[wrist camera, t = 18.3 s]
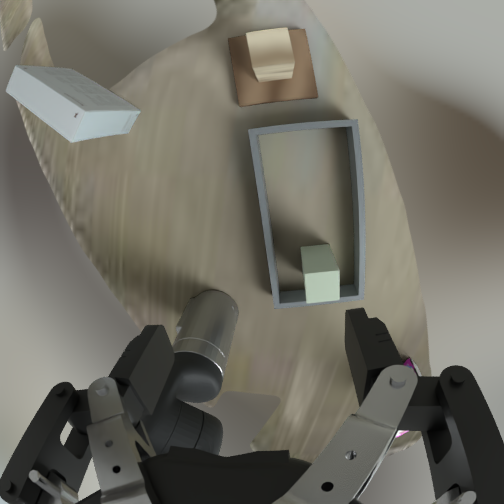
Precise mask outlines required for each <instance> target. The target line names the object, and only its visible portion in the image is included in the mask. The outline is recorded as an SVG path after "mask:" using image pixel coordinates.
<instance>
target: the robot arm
mask: <svg viewBox="0 0 504 504" xmlns="http://www.w3.org/2000/svg"><path fill="white" fill-rule="evenodd" d="M237 318H238V307H237V305H236V303H235V301H234V300H233V299H232V298H231V297H230V296H228V295H227V294H225V293H223V292H220V291H214V290H210V291H205V292H202V293H200V294H199V295H198V296H197V297H196V298H191V299H190V300H189V302H188V304H187V306H186V308H185V310H184V312H183V314H182V316H181V318H180V320H179V322H178V324H177V326H176V331H177V333H178V335H177V337H176V339H175V341H174V344H173V346H172V345H171V343H170V340H169V338H168V335H167V333H166V330H165V328H164V326H163V325H146V326H145V328H144V329H143V331H142V332H141V334H140V335H139V336H137V337H135V338H134V339H133V340H132V341H131V342H130V343H129V345H128V346H127V347H126V349H125V351H124V352H123V354H122V356H121V357H120V358H119V360H118V362H117V363H116V365H115V366H114V368H113V370H112V371H111V373H110V375H109V376H108V377H103V378H99V379H97V380H95V381H94V382H93V383H92V384H91V385H90V386H89V388H88V389H85V390H75V388H74V387H73V385H72V384H71V383H69V382H62V383H59V384H57V385H56V386H54V387H53V388H52V389H51V391H50V392H49V394H48V395H47V397H46V399H45V400H44V402H43V403H42V405H41V407H40V408H39V410H38V411H37V413H36V415H35V416H34V418H33V420H32V421H31V423H30V425H29V426H28V428H27V430H26V432H25V433H24V435H23V437H22V439H21V440H20V442H19V444H18V446H17V448H16V449H15V451H14V453H13V455H12V457H11V459H10V461H9V463H8V464H7V466H6V469H5V471H4V472H3V474H2V477H1V479H0V496H1V498H2V499H3V500H5V501H6V502H7V503H9V504H362V503H361V502H359V501H358V498H359V497H360V495H361V494H362V492H363V491H364V490H365V488H366V486H367V485H368V484H369V482H370V480H371V479H372V477H373V476H374V474H375V472H376V470H377V469H378V467H379V465H380V464H381V462H382V460H383V458H384V457H385V455H386V453H387V451H388V450H389V448H390V446H391V444H392V442H393V440H394V439H395V437H396V435H397V433H398V431H399V430H401V431H421V433H422V437H423V441H424V445H425V449H426V453H427V457H428V461H429V466H430V470H431V476H432V481H433V487H434V492H435V498H436V501H435V502H433V503H432V504H504V443H503V440H502V438H501V435H500V432H499V430H498V427H497V425H496V423H495V420H494V418H493V416H492V413H491V411H490V409H489V407H488V404H487V402H486V400H485V399H484V396H483V394H482V392H481V390H480V388H479V386H478V384H477V382H476V380H475V378H474V376H473V374H472V373H471V372H470V370H468V369H467V368H465V367H463V366H456V365H455V366H450V367H447V368H446V369H444V370H443V371H442V373H441V374H440V377H424V376H418V375H416V373H415V372H414V371H413V370H412V369H411V368H409V367H407V366H404V364H403V362H402V359H401V357H400V355H399V353H398V351H397V349H396V346H395V344H394V342H393V341H392V338H391V336H390V334H389V332H388V330H387V328H386V326H385V324H384V323H383V322H382V321H380V320H379V319H378V318H377V317H375V318H369V319H368V316H367V314H366V312H365V310H364V308H356V309H350V310H346V313H345V349H346V354H347V357H348V361H349V365H350V369H351V373H352V377H353V381H354V385H355V389H356V394H357V398H358V402H359V406H360V408H359V409H358V411H357V412H356V413H355V414H351V415H350V416H349V417H348V418H347V419H346V421H345V422H344V423H343V425H342V426H341V428H340V429H339V430H338V432H337V433H336V435H335V436H334V437H333V439H332V440H331V441H330V443H329V444H328V445H327V446H326V448H325V449H324V450H323V451H322V453H321V454H320V455H319V456H318V458H317V459H316V460H315V461H314V463H313V464H311V463H309V462H306V461H304V460H300V459H296V458H290V454H289V450H281V451H256V452H252V453H247V454H242V455H236V456H230V457H222V456H219V455H218V454H219V451H220V447H221V443H222V437H223V428H222V424H221V422H220V420H218V419H217V418H216V417H214V416H212V415H210V414H208V413H206V412H204V411H202V410H199V409H197V408H195V407H193V406H191V405H189V404H187V403H185V402H183V401H186V402H193V403H201V402H207V401H210V400H212V399H214V398H215V397H216V396H217V395H218V394H219V392H220V389H221V386H222V382H223V378H224V373H225V369H226V365H227V360H228V356H229V352H230V348H231V343H232V339H233V335H234V331H235V327H236V323H237ZM67 421H68V422H69V423H70V425H71V426H72V427H73V428H72V430H71V432H70V434H69V436H68V438H67V440H66V442H65V444H64V446H63V445H62V443H61V441H60V434H61V432H62V430H63V428H64V427H65V425H66V423H67ZM92 457H93V462H94V466H95V470H96V474H97V478H98V481H99V485H100V488H101V489H100V490H98V491H96V492H95V493H93V494H91V495H89V496H88V497H86V498H84V499H82V500H81V501H78V491H79V488H80V486H81V483H82V480H83V478H84V475H85V473H86V470H87V468H88V465H89V463H90V460H91V458H92Z"/></svg>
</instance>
